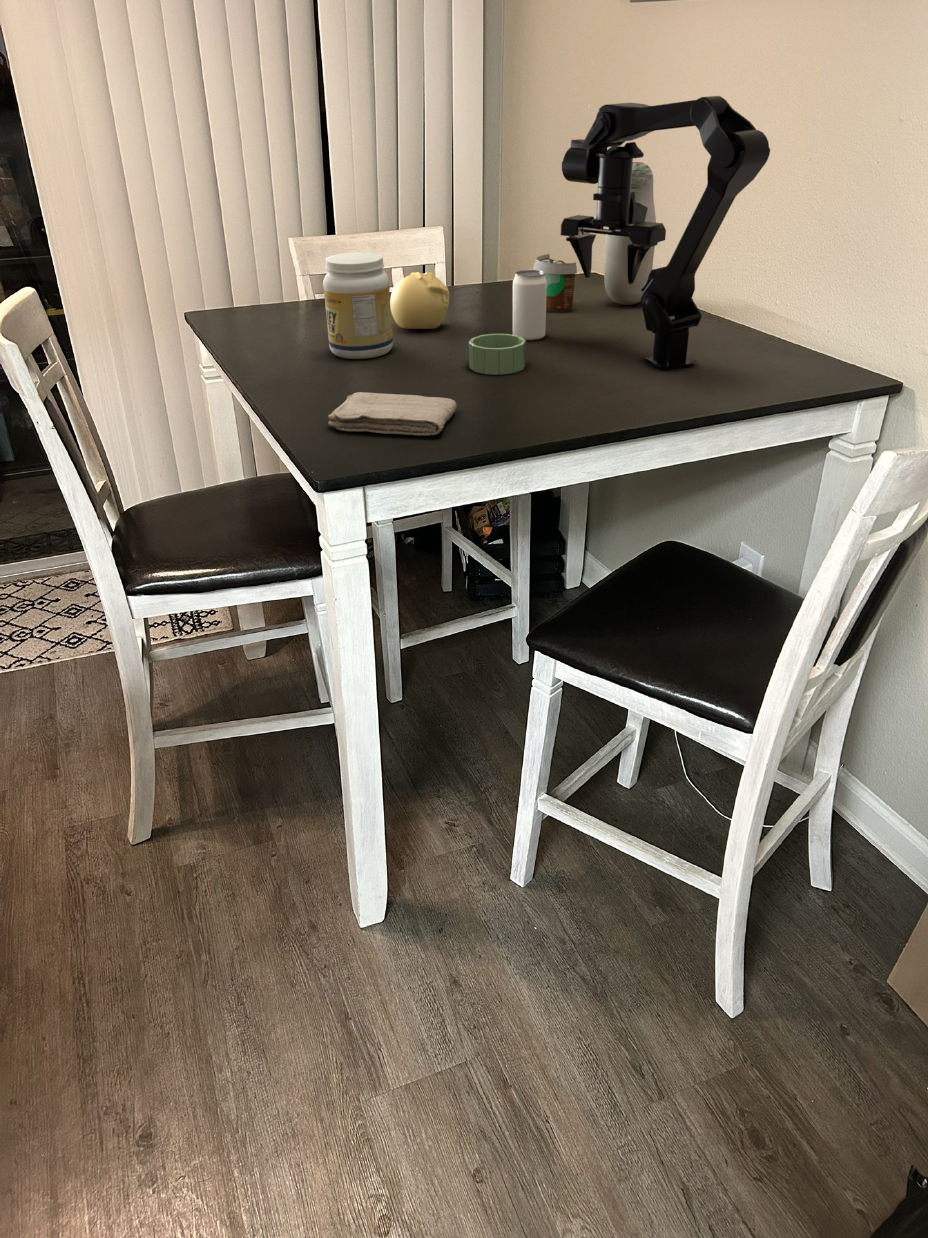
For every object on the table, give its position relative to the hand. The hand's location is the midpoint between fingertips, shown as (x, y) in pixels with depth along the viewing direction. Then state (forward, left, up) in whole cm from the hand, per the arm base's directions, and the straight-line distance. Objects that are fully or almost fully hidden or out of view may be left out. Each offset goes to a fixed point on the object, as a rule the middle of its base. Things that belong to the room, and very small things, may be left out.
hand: (609, 280), depth 167 cm
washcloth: (-26, +47, -12) cm, 55 cm away
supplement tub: (+14, +44, -12) cm, 48 cm away
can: (+12, +11, -12) cm, 20 cm away
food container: (+32, -1, -12) cm, 34 cm away
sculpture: (+27, +29, -12) cm, 41 cm away
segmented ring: (-5, +23, -12) cm, 26 cm away
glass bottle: (+29, -18, -12) cm, 36 cm away
